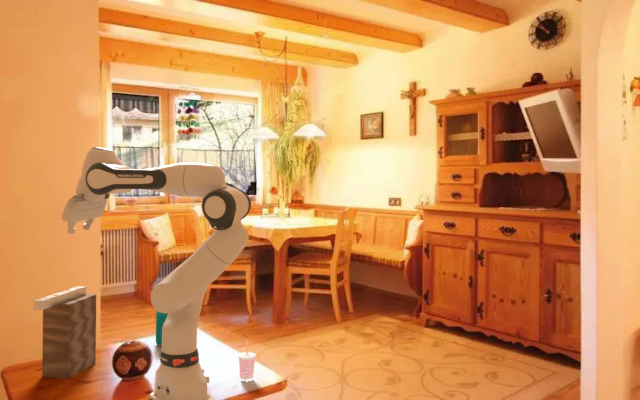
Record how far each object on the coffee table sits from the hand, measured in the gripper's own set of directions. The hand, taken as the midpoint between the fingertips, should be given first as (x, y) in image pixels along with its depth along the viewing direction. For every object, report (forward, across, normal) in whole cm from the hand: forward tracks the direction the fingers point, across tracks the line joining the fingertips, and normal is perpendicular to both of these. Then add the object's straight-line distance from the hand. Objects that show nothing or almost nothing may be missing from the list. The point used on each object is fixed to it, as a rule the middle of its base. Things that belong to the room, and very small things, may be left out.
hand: (78, 231), depth 180 cm
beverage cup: (+32, +8, -70) cm, 78 cm away
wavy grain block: (+52, +6, -8) cm, 53 cm away
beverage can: (+46, +39, -29) cm, 68 cm away
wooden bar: (+27, +2, 0) cm, 27 cm away
